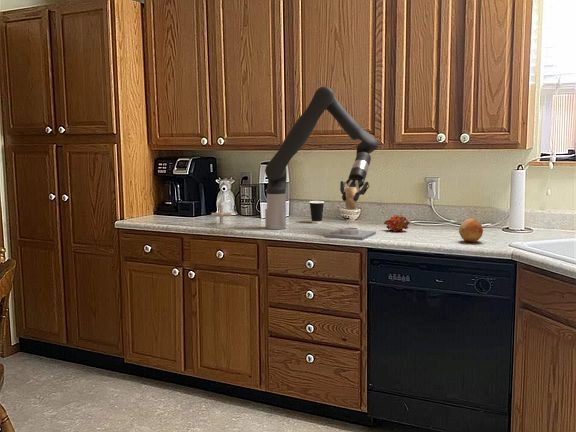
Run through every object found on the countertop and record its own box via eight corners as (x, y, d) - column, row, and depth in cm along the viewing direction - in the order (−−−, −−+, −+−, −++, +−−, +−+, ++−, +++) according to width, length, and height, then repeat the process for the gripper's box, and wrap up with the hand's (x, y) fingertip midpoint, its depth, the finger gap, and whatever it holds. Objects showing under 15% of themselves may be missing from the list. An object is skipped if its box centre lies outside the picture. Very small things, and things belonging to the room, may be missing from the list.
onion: (454, 242, 255) (454, 218, 254) (465, 239, 262) (466, 216, 261) (475, 244, 248) (476, 220, 247) (486, 241, 255) (487, 218, 254)
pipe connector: (231, 222, 317) (231, 203, 316) (230, 225, 308) (230, 205, 306) (212, 222, 317) (212, 203, 316) (210, 225, 307) (210, 206, 306)
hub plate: (324, 237, 270) (324, 230, 269) (339, 231, 285) (339, 224, 285) (362, 240, 261) (362, 232, 261) (376, 233, 277) (376, 227, 277)
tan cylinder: (343, 209, 271) (343, 186, 270) (347, 208, 275) (347, 185, 274) (353, 209, 269) (354, 186, 267) (357, 208, 273) (357, 185, 272)
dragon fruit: (410, 235, 282) (385, 237, 287) (412, 223, 288) (388, 225, 293) (405, 222, 277) (380, 224, 282) (408, 210, 283) (383, 212, 288)
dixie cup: (306, 222, 316) (306, 201, 315) (319, 221, 320) (319, 200, 319) (314, 224, 309) (314, 202, 308) (327, 222, 313) (327, 202, 312)
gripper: (342, 166, 279) (332, 194, 270) (371, 166, 273) (362, 195, 264) (346, 176, 285) (336, 204, 276) (375, 177, 278) (366, 206, 269)
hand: (349, 200), depth 270 cm, fingers closed on tan cylinder, 4 cm apart
